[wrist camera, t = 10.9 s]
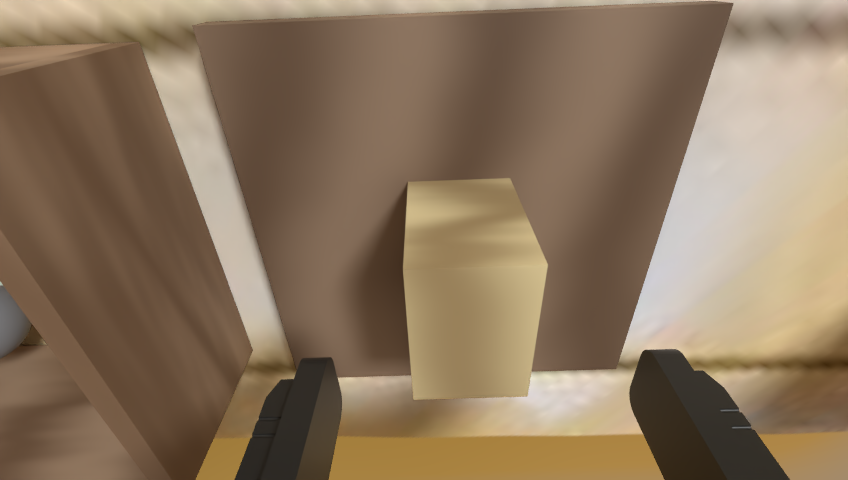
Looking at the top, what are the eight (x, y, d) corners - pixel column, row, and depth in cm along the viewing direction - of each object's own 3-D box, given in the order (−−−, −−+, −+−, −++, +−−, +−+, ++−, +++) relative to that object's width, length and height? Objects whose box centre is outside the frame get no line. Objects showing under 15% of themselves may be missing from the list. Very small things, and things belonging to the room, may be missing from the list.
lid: (696, -1, 13) (916, 21, 7) (602, 340, 21) (669, 477, 15) (218, 19, 13) (63, 56, 7) (307, 349, 21) (266, 488, 16)
